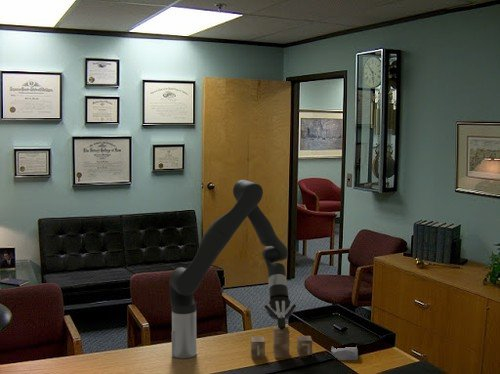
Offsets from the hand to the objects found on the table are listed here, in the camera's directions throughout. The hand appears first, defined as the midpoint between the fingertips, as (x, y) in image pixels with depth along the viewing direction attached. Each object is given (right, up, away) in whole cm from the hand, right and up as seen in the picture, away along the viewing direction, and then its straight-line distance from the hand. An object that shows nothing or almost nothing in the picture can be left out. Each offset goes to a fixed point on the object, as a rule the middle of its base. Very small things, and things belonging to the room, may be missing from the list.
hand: (281, 328), depth 219 cm
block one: (-9, -11, +1) cm, 14 cm away
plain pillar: (0, -10, +1) cm, 11 cm away
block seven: (+9, -10, +2) cm, 14 cm away
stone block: (+24, -11, +2) cm, 26 cm away
